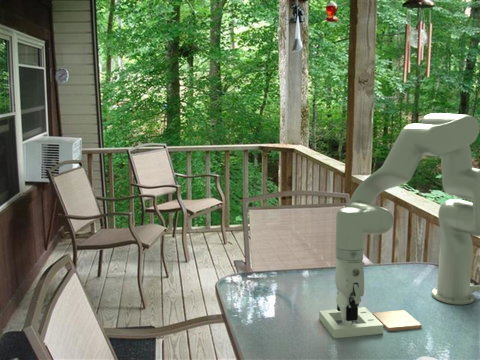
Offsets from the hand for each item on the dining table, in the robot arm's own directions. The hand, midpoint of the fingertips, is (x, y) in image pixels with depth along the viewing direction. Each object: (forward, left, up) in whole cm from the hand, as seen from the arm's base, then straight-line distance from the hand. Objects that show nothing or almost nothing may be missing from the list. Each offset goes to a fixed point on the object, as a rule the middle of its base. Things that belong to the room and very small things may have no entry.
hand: (347, 314), depth 145 cm
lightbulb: (0, 0, -4) cm, 4 cm away
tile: (-15, 0, -4) cm, 15 cm away
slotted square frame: (-1, 0, -4) cm, 4 cm away
